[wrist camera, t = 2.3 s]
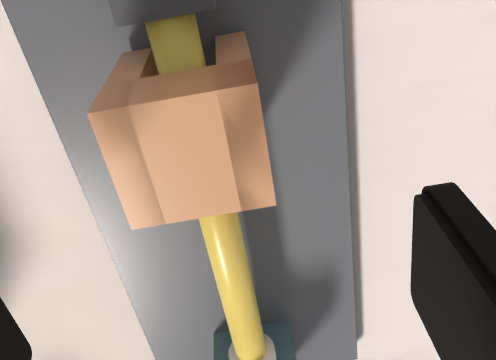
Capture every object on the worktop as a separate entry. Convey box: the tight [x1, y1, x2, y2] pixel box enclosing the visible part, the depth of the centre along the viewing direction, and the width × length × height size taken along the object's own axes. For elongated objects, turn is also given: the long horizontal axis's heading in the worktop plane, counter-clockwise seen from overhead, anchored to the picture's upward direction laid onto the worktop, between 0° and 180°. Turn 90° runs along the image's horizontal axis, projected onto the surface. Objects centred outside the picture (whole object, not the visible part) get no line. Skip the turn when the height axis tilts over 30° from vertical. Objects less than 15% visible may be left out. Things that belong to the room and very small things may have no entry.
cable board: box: [1, 0, 357, 360], centre depth 20 cm, size 25×12×5 cm, turn 9°
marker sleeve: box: [87, 31, 276, 230], centre depth 15 cm, size 4×5×6 cm
